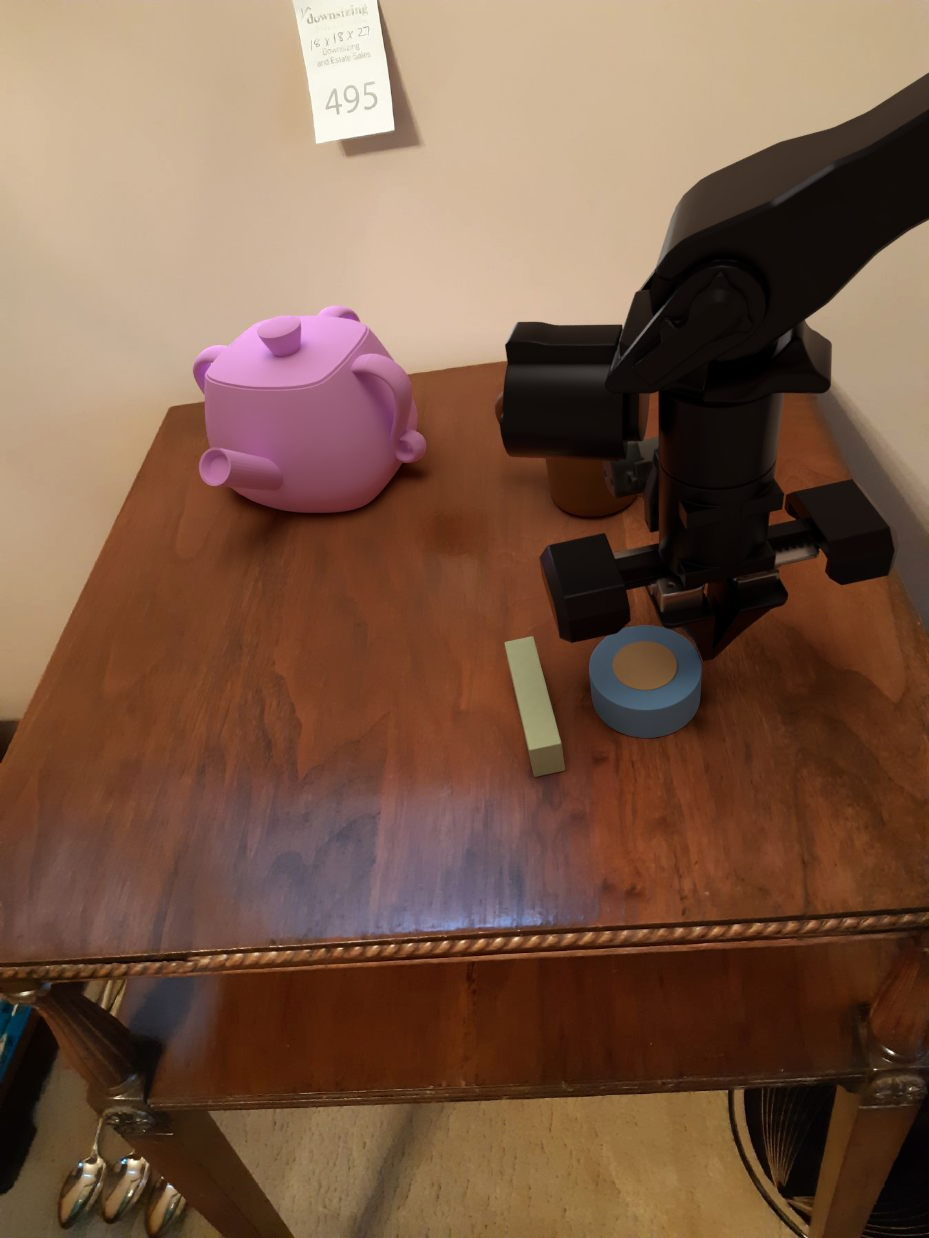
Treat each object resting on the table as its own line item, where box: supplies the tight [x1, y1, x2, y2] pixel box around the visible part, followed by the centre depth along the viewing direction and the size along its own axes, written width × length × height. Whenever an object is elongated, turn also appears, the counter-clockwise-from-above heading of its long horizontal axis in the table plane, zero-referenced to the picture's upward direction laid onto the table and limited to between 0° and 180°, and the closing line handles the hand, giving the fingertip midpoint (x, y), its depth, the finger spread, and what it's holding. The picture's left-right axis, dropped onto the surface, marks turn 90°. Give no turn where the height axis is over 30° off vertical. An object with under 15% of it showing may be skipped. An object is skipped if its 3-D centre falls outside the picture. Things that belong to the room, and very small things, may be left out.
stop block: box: [504, 635, 566, 778], centre depth 54 cm, size 2×9×3 cm, turn 8°
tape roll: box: [588, 624, 703, 739], centre depth 54 cm, size 7×7×3 cm
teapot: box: [192, 305, 428, 514], centre depth 74 cm, size 19×21×14 cm
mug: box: [494, 390, 638, 518], centre depth 68 cm, size 12×8×9 cm, turn 64°
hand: (705, 655), depth 53 cm, fingers closed
